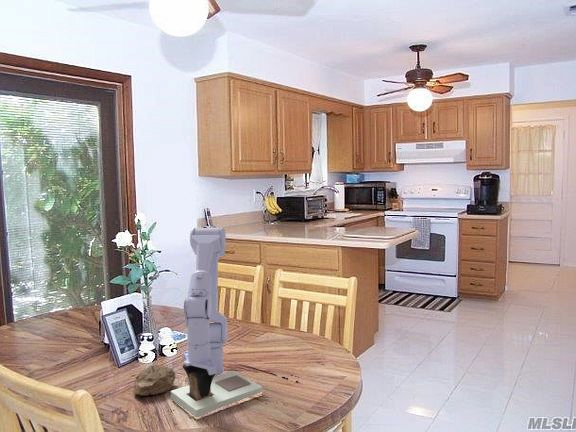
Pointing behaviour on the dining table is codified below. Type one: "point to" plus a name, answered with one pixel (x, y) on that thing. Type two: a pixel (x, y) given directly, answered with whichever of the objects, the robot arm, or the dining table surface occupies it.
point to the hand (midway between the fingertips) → (200, 392)
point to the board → (217, 393)
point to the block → (195, 388)
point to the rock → (154, 380)
